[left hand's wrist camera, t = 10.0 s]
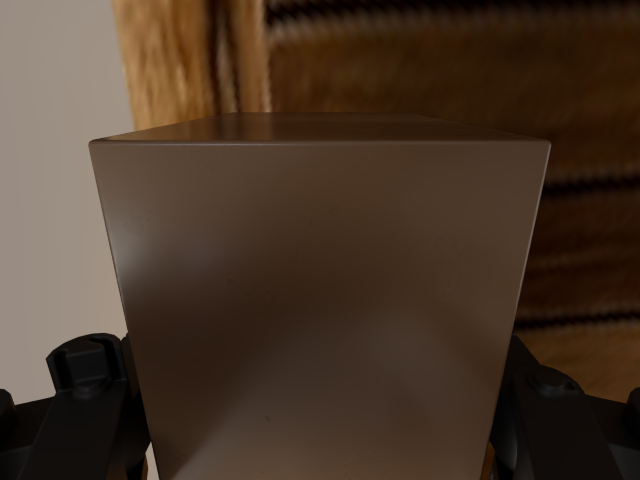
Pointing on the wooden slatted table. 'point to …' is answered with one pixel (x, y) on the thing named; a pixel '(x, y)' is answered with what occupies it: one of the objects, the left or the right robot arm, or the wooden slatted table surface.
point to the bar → (320, 289)
